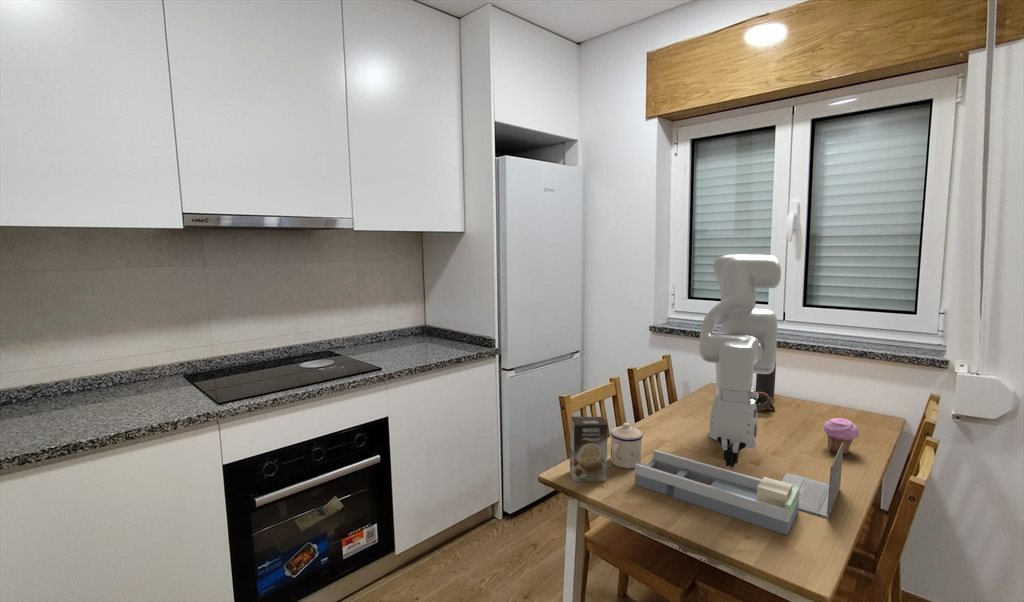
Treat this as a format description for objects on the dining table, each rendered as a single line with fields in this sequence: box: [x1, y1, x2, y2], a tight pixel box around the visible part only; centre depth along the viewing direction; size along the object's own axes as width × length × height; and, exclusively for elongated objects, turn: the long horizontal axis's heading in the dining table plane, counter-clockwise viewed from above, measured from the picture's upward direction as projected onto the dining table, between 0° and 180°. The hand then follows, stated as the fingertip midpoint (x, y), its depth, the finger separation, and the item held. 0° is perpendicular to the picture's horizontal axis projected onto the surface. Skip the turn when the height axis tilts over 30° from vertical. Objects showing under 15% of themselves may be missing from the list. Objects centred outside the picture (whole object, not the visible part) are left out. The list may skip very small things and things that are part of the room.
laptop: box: [780, 442, 844, 519], centre depth 125 cm, size 18×12×13 cm
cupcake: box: [823, 417, 860, 455], centre depth 150 cm, size 9×9×10 cm
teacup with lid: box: [610, 422, 644, 469], centre depth 143 cm, size 12×9×12 cm
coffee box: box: [569, 416, 609, 483], centre depth 135 cm, size 9×6×16 cm
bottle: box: [755, 362, 777, 400], centre depth 199 cm, size 7×7×20 cm
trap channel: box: [634, 449, 800, 536], centre depth 124 cm, size 12×36×6 cm, turn 50°
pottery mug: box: [753, 390, 776, 413], centre depth 186 cm, size 12×10×8 cm
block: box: [757, 476, 792, 508], centre depth 115 cm, size 6×6×5 cm
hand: (730, 464), depth 122 cm, fingers closed
